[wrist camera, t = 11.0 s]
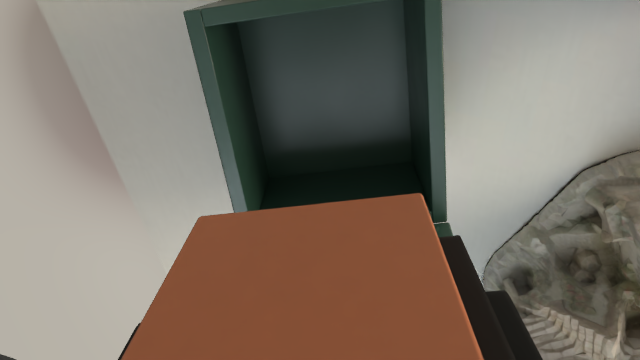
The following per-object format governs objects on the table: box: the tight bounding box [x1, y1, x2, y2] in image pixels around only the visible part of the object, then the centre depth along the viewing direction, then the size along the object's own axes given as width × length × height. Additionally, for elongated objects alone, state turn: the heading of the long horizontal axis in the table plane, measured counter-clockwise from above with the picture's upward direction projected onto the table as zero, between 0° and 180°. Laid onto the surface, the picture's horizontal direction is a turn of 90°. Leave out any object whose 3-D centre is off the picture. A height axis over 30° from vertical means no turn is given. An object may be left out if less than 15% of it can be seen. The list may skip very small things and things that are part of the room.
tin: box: [183, 0, 447, 223], centre depth 26 cm, size 13×12×8 cm
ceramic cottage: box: [483, 151, 640, 360], centre depth 28 cm, size 16×16×15 cm
